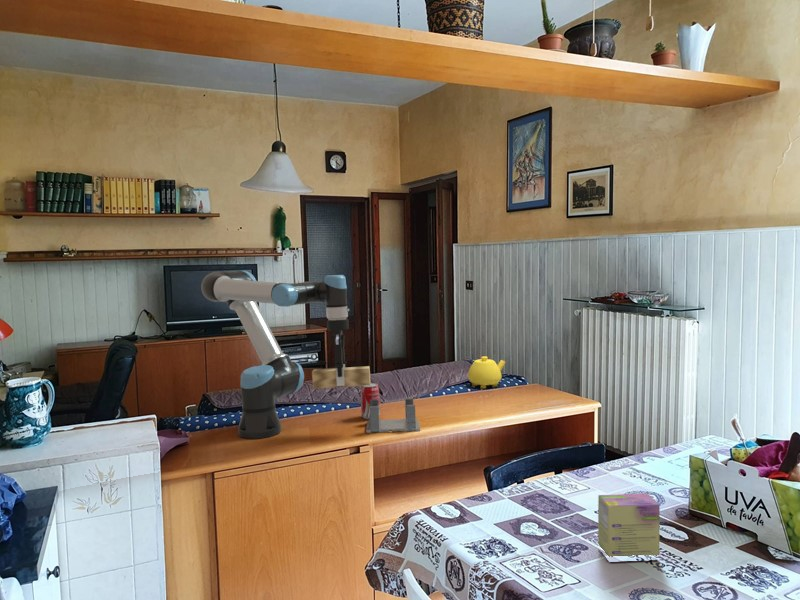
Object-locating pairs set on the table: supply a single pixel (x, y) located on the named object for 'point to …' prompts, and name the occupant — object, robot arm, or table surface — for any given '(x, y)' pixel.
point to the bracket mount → (394, 424)
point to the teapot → (485, 372)
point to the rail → (351, 377)
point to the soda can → (368, 399)
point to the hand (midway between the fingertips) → (341, 383)
